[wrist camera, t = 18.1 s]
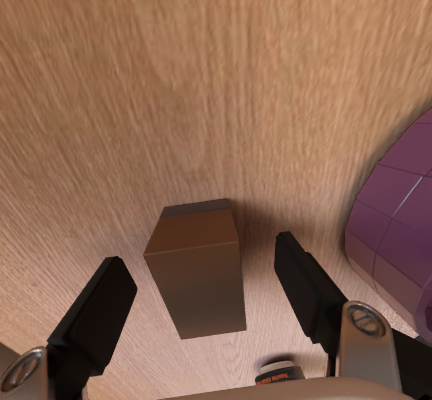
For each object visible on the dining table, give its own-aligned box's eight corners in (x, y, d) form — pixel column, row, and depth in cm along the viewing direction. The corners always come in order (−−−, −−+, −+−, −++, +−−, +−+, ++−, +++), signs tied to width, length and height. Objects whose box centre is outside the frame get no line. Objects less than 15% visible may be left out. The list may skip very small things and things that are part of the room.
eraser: (164, 207, 10) (142, 254, 6) (227, 197, 10) (240, 240, 6) (187, 280, 13) (180, 340, 10) (235, 273, 13) (247, 330, 10)
